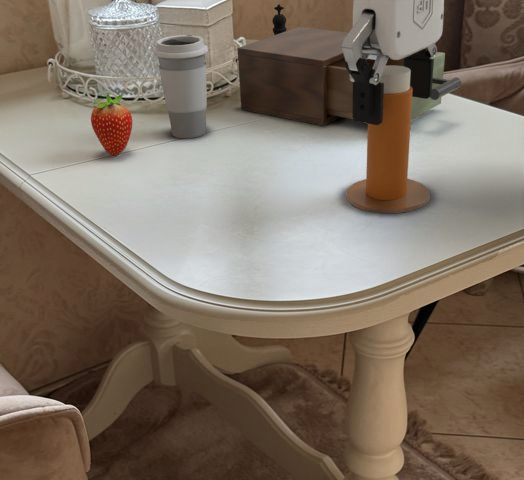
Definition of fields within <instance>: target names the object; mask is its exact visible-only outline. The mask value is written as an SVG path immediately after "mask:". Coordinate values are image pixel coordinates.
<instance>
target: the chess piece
mask: <svg viewBox="0 0 524 480" xmlns="http://www.w3.org/2000/svg"><path fill="white" fill-rule="evenodd" d="M273 9H274V10H275V11H276V12H277V14H274V15H273V17H272V19H271V21H272V24H273V28H272V32H273V36H274V35H277V34H280V33H283V32H286V31H288V28H287V27H286V24H287V17H286V16H285V15H284V14H282V13H281V11H282V10H284V9H285V7H283V6H281V4H277V5H276V6H275V7H274V8H273Z"/></svg>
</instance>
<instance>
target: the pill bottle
mask: <svg viewBox="0 0 524 480" xmlns="http://www.w3.org/2000/svg"><path fill="white" fill-rule="evenodd" d="M410 73H411V70H410V69H409V68H407V67H404V66H395V65H390V66H385V68H384V71H383V73H382V76H381V79H380V81H379V82H381V83H384V98H383V122H382V123H381V124H379V125H373V124H367V134H366V135H367V136H366V137H367V138H366V140H367V141H366V142H367V143H366V173H365V174H366V175H365V179H366V194H367V195H368V196H370V197H372V198H374V199H379V200H394V199H399V198H401V197H403V196H405V195H406V193H407V179H408V173H409V159H410V140H411V138H410V137H411V123H412V120H411V108H412V91H413V88H412V87H411V86H410Z"/></svg>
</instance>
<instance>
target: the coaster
mask: <svg viewBox="0 0 524 480" xmlns="http://www.w3.org/2000/svg"><path fill="white" fill-rule="evenodd" d="M345 195H346V200H347V202H348V203H349V204H350V205H352V206H353V207H355V208H357V209H359V210H362V211H365V212H370V213H375V214H401V213H402V214H403V213H408V212H411V211H416V210H418V209H421V208H422V207H424V206H426V205H427V203H428V202H429V200H430V196H431V192H430V189H429V188H428V187H427V185H424V184H423V183H421V182H419V181H416V180H414V179H410V178H407V193H406V195H405V196H403V197H401V198H399V199H394V200H379V199H374V198H372V197H370V196H368V195H367V194H366V178H364V179H362V180H358V181H356V182H354V183H351V185H350V186H348V188H347V190H346V194H345Z"/></svg>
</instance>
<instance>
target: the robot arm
mask: <svg viewBox="0 0 524 480" xmlns="http://www.w3.org/2000/svg"><path fill="white" fill-rule="evenodd" d="M352 2H353V3H352V6H353V7H352V28H351V29H350V30H349V32H347V33H348V34H347V36H346V37H345V38H344V40H343V41H342V44H341V47H342V51H343V54H344V58H345V61H346V63H345V64H346V69H347V70H348V72H349V73H350V75H349V78H350V81H352V82H353V113H352V117H353V119H352V120H353V121H354V122H358V123H361V124H362V123H363V124H366V125H368V124H373V125H379V124H381V123H382V122H383V98H384V83H381V82H379V81H380V79H381V76H382V73H383V71H384V68H385V66H386V63H387V60H388V58H389V57H390V58H391V59H393V60H400V59H402V58H404V67H407V68H409V69H410V70H411V73H410V86H411V87H412V88H413V91H412V97H418V98H424V99H427V98H429V97H431V95H432V81H433V65H434V59H430V58H434V57H435V56H436V53H437V52H438V47H437V45H436V44H437V42H438V41H439V40H440V39H441V37H442V36H443V30H444V29H443V28H444V15H445V14H444V13H445V0H353V1H352ZM409 55H411V56H409ZM367 59H373V60H375V63H374V65H373V68H371V66H370V65H369V63H368V62H367Z"/></svg>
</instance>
